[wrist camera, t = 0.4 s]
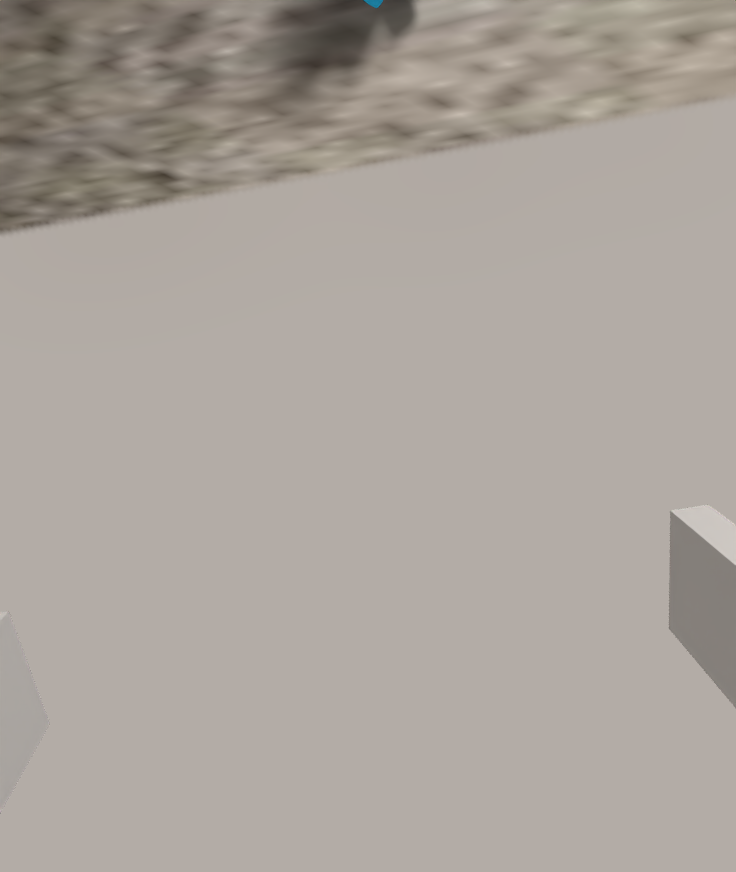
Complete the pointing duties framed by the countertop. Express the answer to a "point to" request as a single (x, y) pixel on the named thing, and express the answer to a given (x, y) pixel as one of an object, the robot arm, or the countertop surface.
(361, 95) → the countertop surface
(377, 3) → the blue irregular piece
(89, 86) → the countertop surface
